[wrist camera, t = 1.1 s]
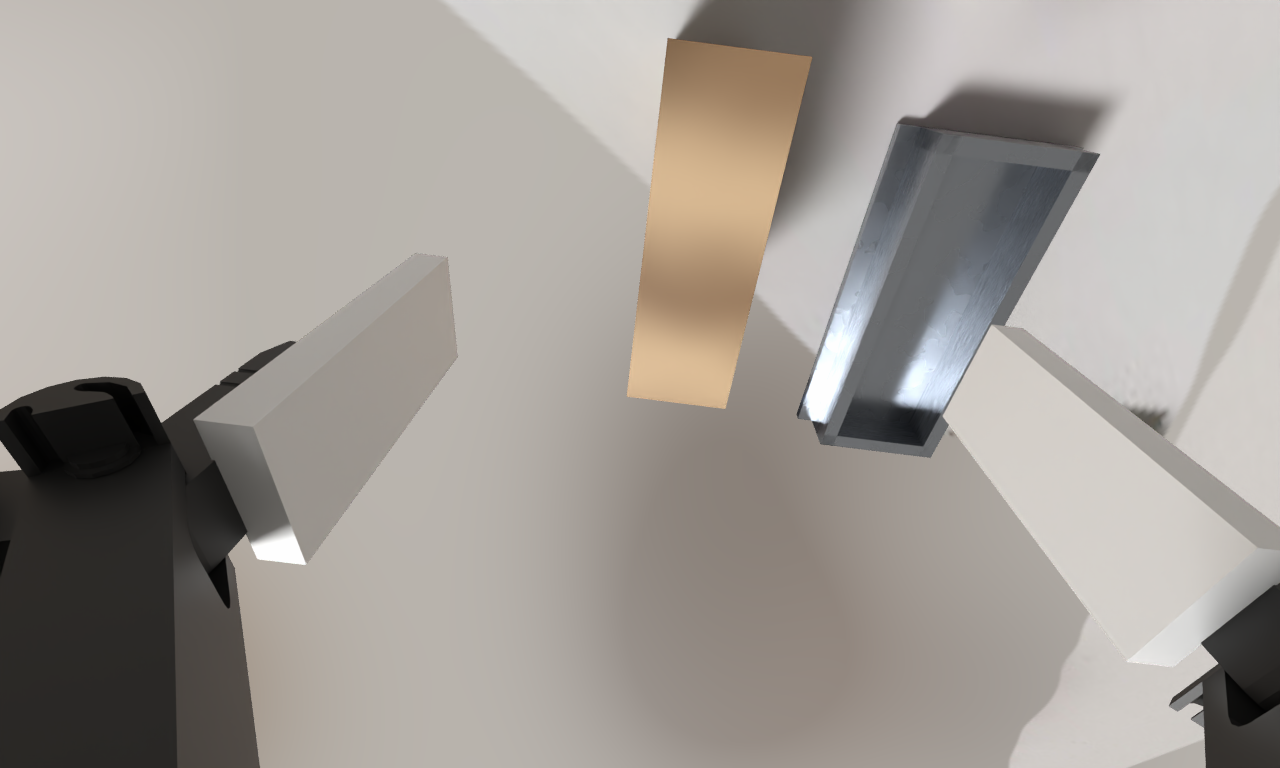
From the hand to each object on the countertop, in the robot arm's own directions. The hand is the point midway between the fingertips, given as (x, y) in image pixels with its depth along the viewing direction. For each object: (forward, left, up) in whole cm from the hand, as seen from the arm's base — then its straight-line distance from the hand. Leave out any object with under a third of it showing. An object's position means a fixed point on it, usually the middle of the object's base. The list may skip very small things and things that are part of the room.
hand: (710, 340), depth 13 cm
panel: (0, 0, -18) cm, 18 cm away
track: (+5, +14, -17) cm, 23 cm away
